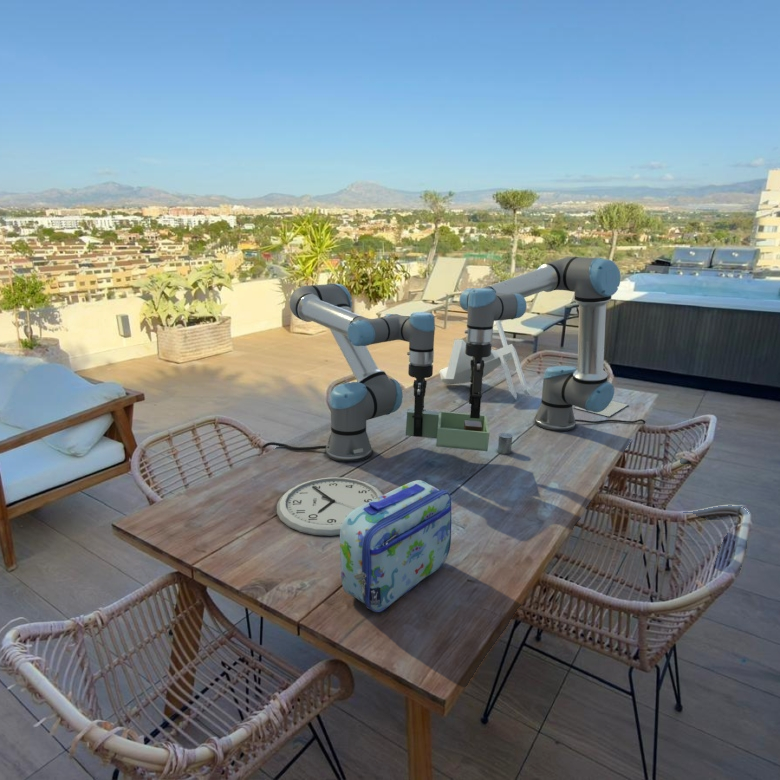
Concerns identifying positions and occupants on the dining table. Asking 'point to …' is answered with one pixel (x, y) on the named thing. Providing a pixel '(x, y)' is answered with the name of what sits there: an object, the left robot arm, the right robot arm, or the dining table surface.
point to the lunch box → (394, 543)
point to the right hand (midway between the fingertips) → (474, 410)
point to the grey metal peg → (505, 443)
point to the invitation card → (609, 408)
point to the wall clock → (323, 504)
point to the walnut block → (472, 425)
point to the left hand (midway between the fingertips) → (418, 433)
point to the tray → (451, 430)
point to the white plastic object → (462, 369)
